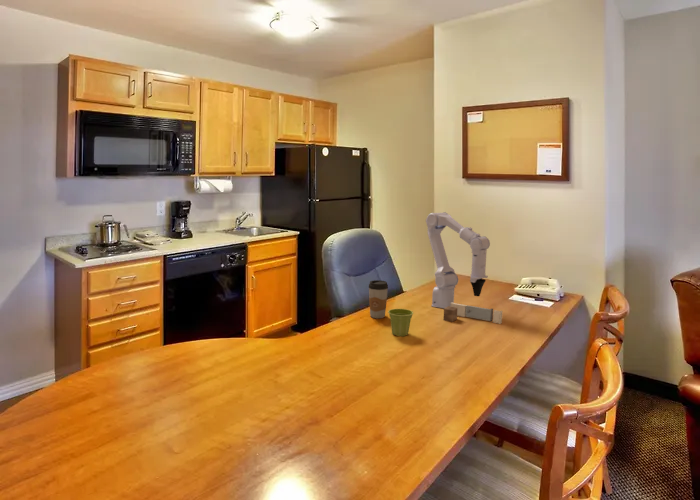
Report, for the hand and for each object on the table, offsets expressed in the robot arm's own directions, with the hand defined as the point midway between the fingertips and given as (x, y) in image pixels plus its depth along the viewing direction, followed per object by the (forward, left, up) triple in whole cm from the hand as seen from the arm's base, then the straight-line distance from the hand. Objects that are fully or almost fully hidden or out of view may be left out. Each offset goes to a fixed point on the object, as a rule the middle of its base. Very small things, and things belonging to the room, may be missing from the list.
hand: (476, 295), depth 191 cm
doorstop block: (-7, -12, -9) cm, 17 cm away
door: (+3, -5, -9) cm, 10 cm away
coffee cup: (-34, -26, -9) cm, 44 cm away
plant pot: (-16, -40, -9) cm, 45 cm away
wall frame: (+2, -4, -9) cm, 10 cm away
